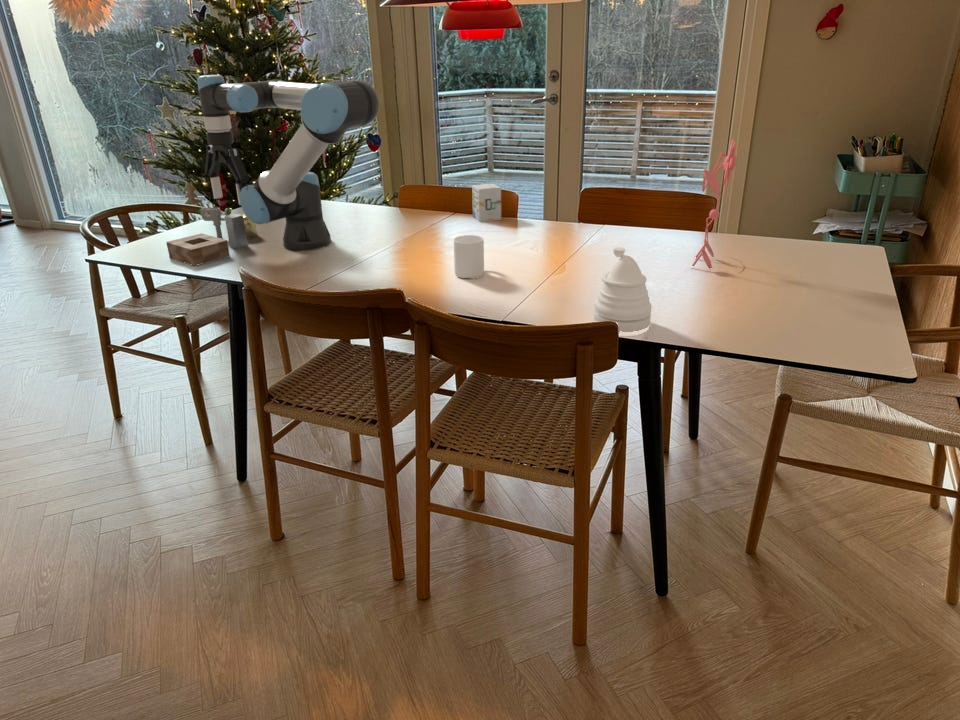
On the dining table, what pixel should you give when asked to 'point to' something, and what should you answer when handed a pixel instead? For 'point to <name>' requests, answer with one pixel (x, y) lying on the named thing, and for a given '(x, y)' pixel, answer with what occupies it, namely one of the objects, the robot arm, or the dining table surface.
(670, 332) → the dining table surface
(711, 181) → the pink branching twig
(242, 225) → the square bit
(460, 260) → the mug
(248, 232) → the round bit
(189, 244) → the bore block
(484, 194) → the ink box
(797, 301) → the dining table surface
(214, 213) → the mechanical component
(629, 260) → the honey pot
